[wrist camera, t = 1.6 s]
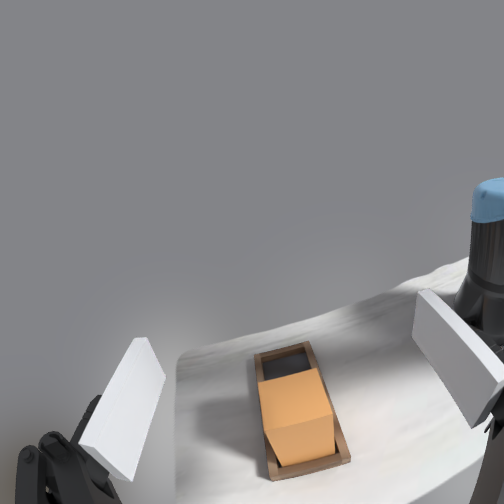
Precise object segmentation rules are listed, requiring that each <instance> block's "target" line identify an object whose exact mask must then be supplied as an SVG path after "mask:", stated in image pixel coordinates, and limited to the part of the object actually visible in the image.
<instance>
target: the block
mask: <svg viewBox="0 0 504 504" xmlns="http://www.w3.org/2000/svg"><path fill="white" fill-rule="evenodd" d="M258 387H259V395H260V402H261V410H262V418H263V425H264V431H265V433H266V435H267V438H268V440H269V442H270V444H271V446H272V448H273V450H274V452H275V454H276V456H277V458H278V460H279V462H280V463H281V465H282V467H287V466H292V465H296V464H300V463H305V462H309V461H313V460H316V459H320V458H324V457H327V456H331V455H334V454H335V442H334V424H333V413H332V410H331V407H330V404H329V401H328V398H327V396H326V393H325V390H324V387H323V384H322V382H321V379H320V376H319V373H318V371H317V368H314V369H310V370H307V371H303V372H300V373H296V374H292V375H288V376H284V377H280V378H276V379H272V380H267V381H263V382H258Z"/></svg>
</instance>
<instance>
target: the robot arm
mask: <svg viewBox="0 0 504 504" xmlns="http://www.w3.org/2000/svg"><path fill="white" fill-rule="evenodd" d="M471 220H472V231H471V244H470V255H469V264H468V272H467V274H466V276H465V279H464V281H463V283H462V285H461V287H460V289H459V291H458V293H457V295H456V297H455V299H454V304H453V309H451V308H450V307H449V306H448V305H447V304H446V303H445V302H444V301H443V300H442V299H441V298H440V297H439V296H437V295H436V294H435V293H434V292H433V291H432V290H431V289H430V288H429V289H425V290H422V291H418V292H417V299H416V308H415V316H414V323H413V330H412V336H411V337H412V338H413V340H414V341H415V342H416V344H417V345H418V347H419V348H420V349H421V351H422V352H423V354H424V355H425V357H426V358H427V360H428V361H429V362H430V364H431V365H432V367H433V368H434V370H435V371H436V373H437V374H438V376H439V377H440V379H441V380H442V382H443V383H444V385H445V387H446V388H447V390H448V391H449V393H450V394H451V396H452V398H453V399H454V401H455V402H456V404H457V406H458V407H459V409H460V411H461V412H462V414H463V416H464V417H465V419H466V421H467V422H468V424H469V426H470V428H471V429H472V428H474V427H476V426H477V425H479V424H481V423H482V422H484V421H485V420H486V419H487V417H488V415H489V414H490V412H491V413H492V415H493V416H494V417H493V418H492V420H491V421H490V423H489V424H488V426H487V427H486V429H485V431H484V433H486V432H487V431H488V429H489V428H490V431H489V436H488V441H487V446H486V450H485V455H484V459H483V463H482V467H481V470H480V473H479V477H478V480H477V483H476V486H475V489H474V492H473V495H472V498H471V500H470V503H469V504H504V351H503V350H501V348H500V347H499V346H498V345H503V344H504V178H496V179H491V180H488V181H484V182H482V183H480V184H479V185H478V186H477V187H476V188H475V190H474V192H473V200H472V212H471ZM165 380H166V375H165V373H164V371H163V370H162V367H161V365H160V363H159V361H158V360H157V357H156V355H155V353H154V351H153V349H152V347H151V344H150V342H149V340H148V338H147V337H141V338H134V339H133V341H132V343H131V344H130V346H129V348H128V350H127V351H126V353H125V355H124V357H123V358H122V360H121V362H120V364H119V366H118V367H117V369H116V371H115V373H114V375H113V377H112V378H111V380H110V382H109V384H108V386H107V388H106V389H105V391H104V393H103V395H97V396H96V397H95V398H94V399H93V400H92V401H91V402H90V404H89V406H88V408H87V410H86V413H84V415H83V419H82V420H81V421H80V423H79V425H78V427H77V429H76V431H75V433H74V435H73V437H72V439H71V441H70V442H68V441H67V440H66V439H65V438H64V437H63V436H62V434H60V433H59V432H55V431H52V432H48V433H47V434H45V435H44V436H43V437H42V438H41V440H40V442H39V446H38V448H39V449H40V451H41V452H40V451H39V450H38V449H37V448H36V447H35V446H31V445H29V446H26V447H24V448H23V449H22V450H21V452H20V453H19V457H18V466H17V475H16V490H15V492H16V493H15V504H122V503H121V501H120V499H119V497H118V495H117V493H116V491H115V489H114V487H113V484H112V482H111V481H110V480H109V478H108V475H109V473H111V474H112V475H113V476H114V477H116V478H117V479H120V480H125V481H129V482H133V478H134V475H135V472H136V468H137V465H138V462H139V459H140V455H141V452H142V449H143V446H144V443H145V440H146V436H147V433H148V430H149V427H150V424H151V421H152V418H153V415H154V412H155V409H156V406H157V403H158V400H159V397H160V394H161V391H162V388H163V385H164V382H165ZM42 452H43V453H42ZM46 486H47V487H48V488H49V492H48V493H47V492H46Z"/></svg>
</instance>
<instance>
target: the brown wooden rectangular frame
mask: <svg viewBox="0 0 504 504" xmlns="http://www.w3.org/2000/svg"><path fill="white" fill-rule="evenodd" d="M254 361H255V369H256V377H257V385H258V382H263V381H267V380H272V379H276V378H280V377H284V376H288V375H292V374H296V373H300V372H303V371H307V370H310V369H314V368H317V371H318V373H319V376H320V379H321V382H322V384H323V387H324V390H325V393H326V396H327V398H328V401H329V404H330V407H331V410H332V413H333V424H334V442H335V454H334V455H331V456H327V457H324V458H320V459H316V460H313V461H309V462H305V463H300V464H296V465H292V466H287V467H282V465H281V463H280V462H279V460H278V458H277V456H276V454H275V452H274V450H273V448H272V446H271V444H270V442H269V440H268V438H267V435H266V433H265V431H264V425H263V432H264V440H265V447H266V455H267V462H268V470H269V477H270V479H271V480H272V481H278V480H284V479H289V478H294V477H298V476H303V475H307V474H311V473H315V472H319V471H322V470H326V469H330V468H333V467H336V466H340V465H343V464H346V463H349V462H350V461H351V455H350V453H349V450H348V447H347V444H346V441H345V438H344V435H343V433H342V430H341V427H340V424H339V421H338V418H337V416H336V413H335V410H334V407H333V405H332V402H331V399H330V396H329V393H328V391H327V388H326V385H325V383H324V380H323V377H322V374H321V372H320V369H319V366H318V364H317V361H316V358H315V356H314V353H313V350H312V348H311V345H310V342H309V341H306V342H303V343H299V344H295V345H292V346H288V347H284V348H280V349H276V350H272V351H268V352H264V353H260V354H255V355H254ZM258 393H259V387H258ZM259 401H260V395H259ZM260 409H261V402H260ZM261 417H262V410H261ZM262 424H263V418H262Z"/></svg>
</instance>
